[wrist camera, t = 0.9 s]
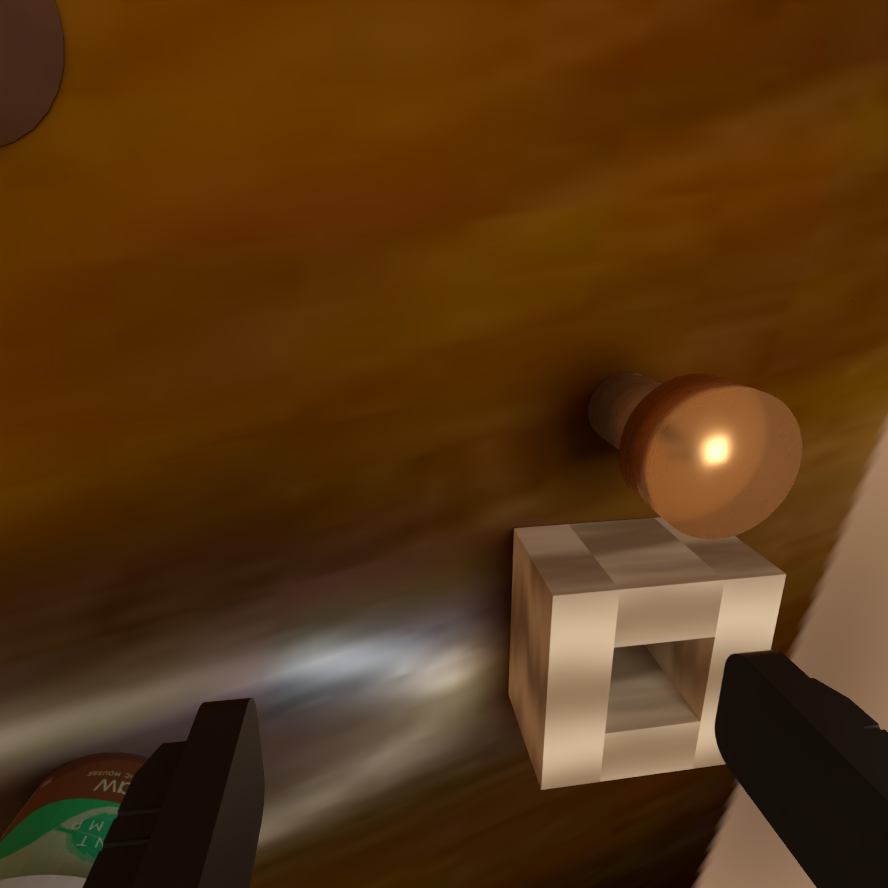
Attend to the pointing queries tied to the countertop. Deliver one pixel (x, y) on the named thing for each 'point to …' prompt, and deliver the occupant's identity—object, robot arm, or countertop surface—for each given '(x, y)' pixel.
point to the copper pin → (700, 449)
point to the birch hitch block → (629, 644)
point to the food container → (66, 822)
